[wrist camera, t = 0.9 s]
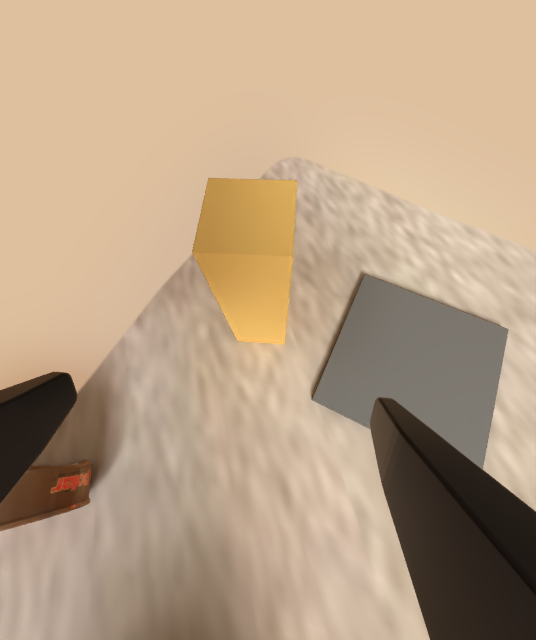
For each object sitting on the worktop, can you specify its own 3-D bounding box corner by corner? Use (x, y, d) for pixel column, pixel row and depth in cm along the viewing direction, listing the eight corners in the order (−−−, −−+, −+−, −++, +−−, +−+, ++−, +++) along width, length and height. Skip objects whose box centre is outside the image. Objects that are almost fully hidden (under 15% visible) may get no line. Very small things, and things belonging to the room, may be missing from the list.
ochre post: (284, 344, 22) (293, 256, 10) (237, 341, 22) (192, 252, 10) (287, 301, 23) (297, 180, 11) (243, 298, 23) (208, 178, 12)
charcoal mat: (502, 331, 21) (508, 329, 21) (473, 480, 18) (480, 482, 17) (363, 277, 24) (364, 274, 23) (311, 399, 20) (312, 399, 19)
